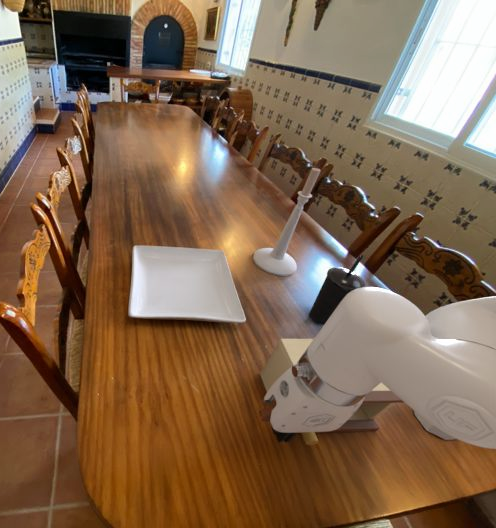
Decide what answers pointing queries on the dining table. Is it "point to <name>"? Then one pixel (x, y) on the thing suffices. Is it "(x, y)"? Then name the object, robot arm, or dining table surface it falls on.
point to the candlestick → (285, 237)
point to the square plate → (183, 285)
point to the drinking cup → (335, 291)
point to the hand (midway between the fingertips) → (279, 432)
